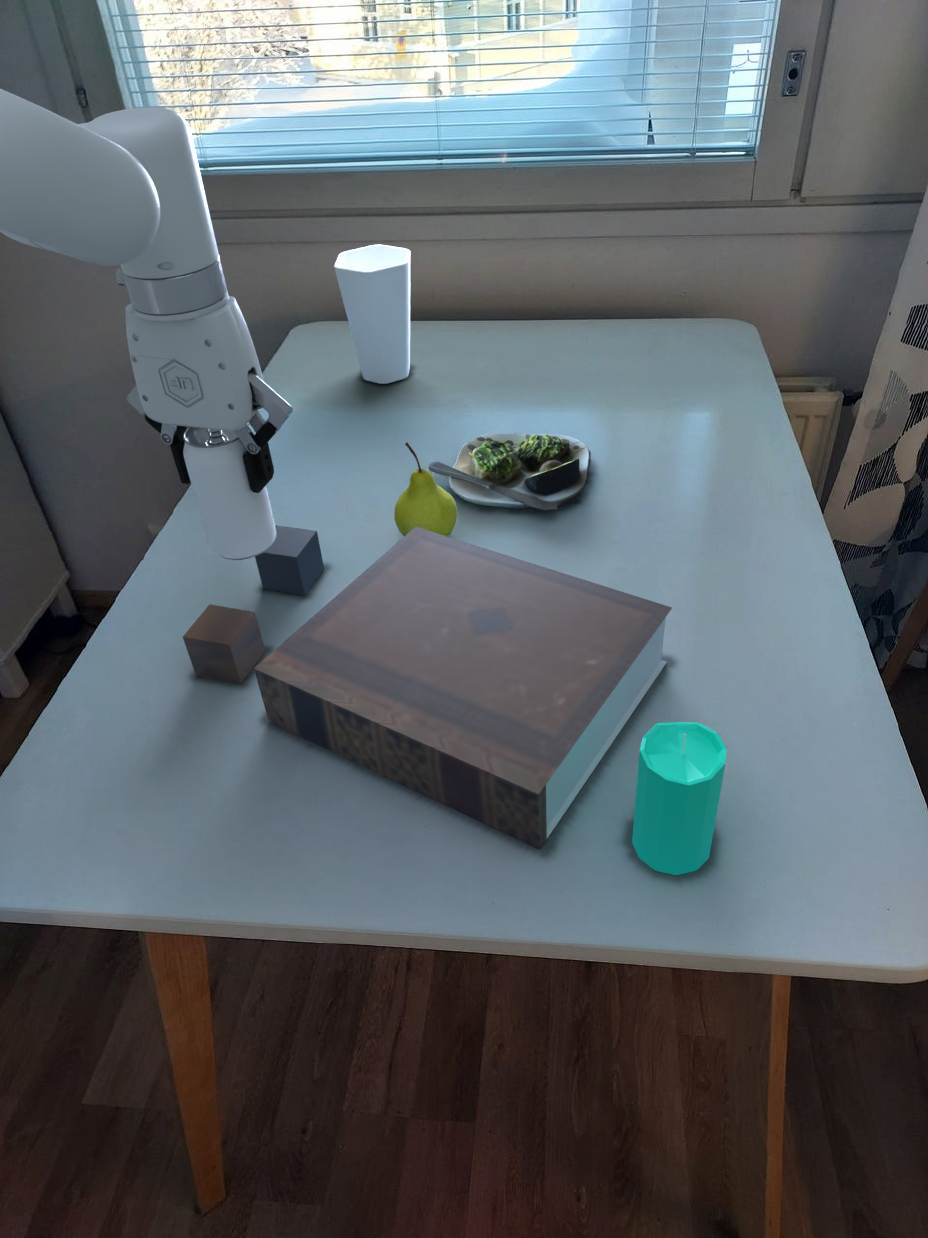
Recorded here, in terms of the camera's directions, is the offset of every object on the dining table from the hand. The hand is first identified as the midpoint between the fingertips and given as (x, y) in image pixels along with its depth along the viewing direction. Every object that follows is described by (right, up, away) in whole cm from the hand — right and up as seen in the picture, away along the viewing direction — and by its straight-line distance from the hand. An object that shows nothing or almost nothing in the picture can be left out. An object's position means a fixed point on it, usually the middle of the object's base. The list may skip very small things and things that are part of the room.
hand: (227, 479), depth 85 cm
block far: (+3, -8, +16) cm, 18 cm away
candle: (+38, -30, -14) cm, 50 cm away
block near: (-1, -17, +6) cm, 18 cm away
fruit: (+18, -4, +20) cm, 27 cm away
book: (+22, -20, +1) cm, 30 cm away
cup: (+10, +24, +54) cm, 60 cm away
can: (0, -6, +5) cm, 7 cm away
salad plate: (+29, +4, +29) cm, 41 cm away
